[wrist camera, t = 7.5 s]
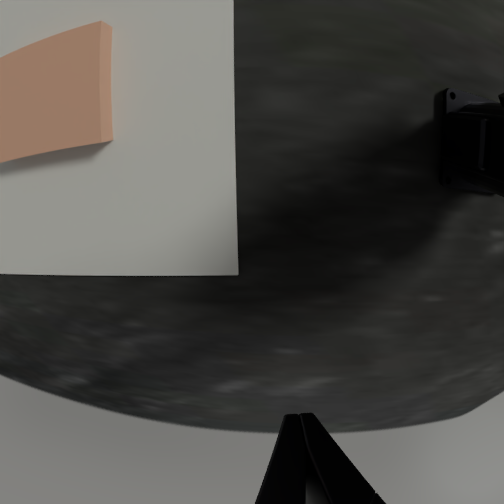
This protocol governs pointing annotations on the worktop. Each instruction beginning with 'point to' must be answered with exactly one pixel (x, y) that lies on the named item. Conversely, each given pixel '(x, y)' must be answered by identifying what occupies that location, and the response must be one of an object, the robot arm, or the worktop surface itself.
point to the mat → (132, 149)
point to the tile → (57, 93)
